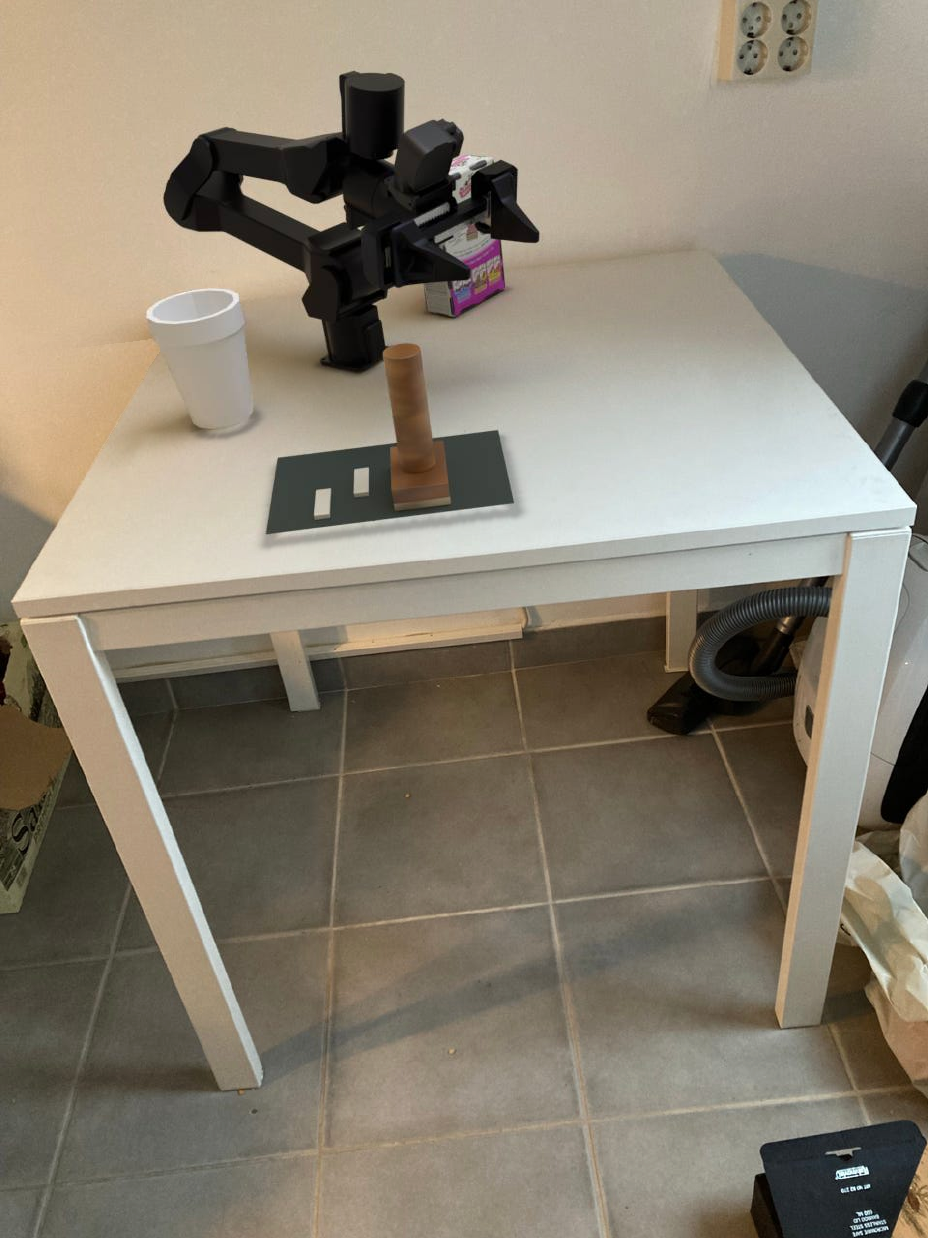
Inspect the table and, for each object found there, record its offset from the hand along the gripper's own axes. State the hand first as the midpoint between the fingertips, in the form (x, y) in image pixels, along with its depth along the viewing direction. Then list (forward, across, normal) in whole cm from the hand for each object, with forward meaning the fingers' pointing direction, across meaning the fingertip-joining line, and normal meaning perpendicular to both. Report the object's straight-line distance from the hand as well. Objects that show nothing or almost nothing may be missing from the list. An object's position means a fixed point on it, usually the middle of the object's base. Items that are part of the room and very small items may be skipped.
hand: (504, 255), depth 92 cm
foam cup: (-21, -22, +20) cm, 36 cm away
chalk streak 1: (+3, -26, +13) cm, 29 cm away
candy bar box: (-24, +18, +23) cm, 37 cm away
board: (+4, -19, +14) cm, 24 cm away
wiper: (+7, -18, +12) cm, 23 cm away
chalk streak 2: (+3, -21, +13) cm, 25 cm away
